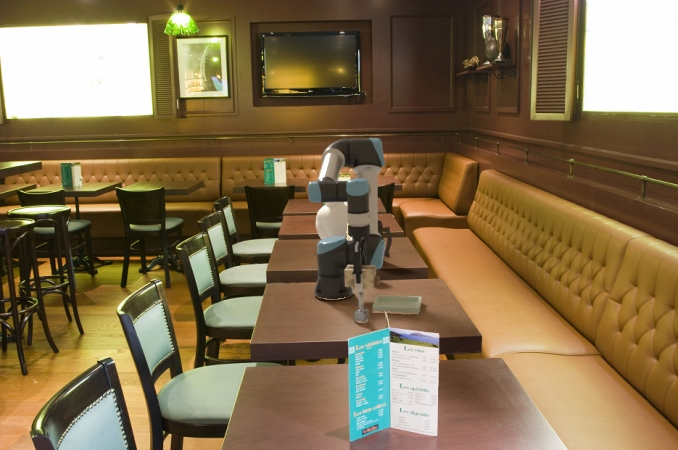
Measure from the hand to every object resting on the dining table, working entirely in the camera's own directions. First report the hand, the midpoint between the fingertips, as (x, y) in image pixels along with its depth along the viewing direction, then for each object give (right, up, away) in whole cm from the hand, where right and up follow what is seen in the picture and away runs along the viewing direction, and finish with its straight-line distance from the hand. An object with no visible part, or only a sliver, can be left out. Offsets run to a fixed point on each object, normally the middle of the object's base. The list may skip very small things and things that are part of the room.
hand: (360, 288), depth 223 cm
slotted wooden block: (0, +2, 0) cm, 2 cm away
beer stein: (+11, +4, +77) cm, 78 cm away
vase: (-9, +11, +112) cm, 113 cm away
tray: (+14, -9, +14) cm, 22 cm away
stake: (0, -12, +2) cm, 12 cm away
